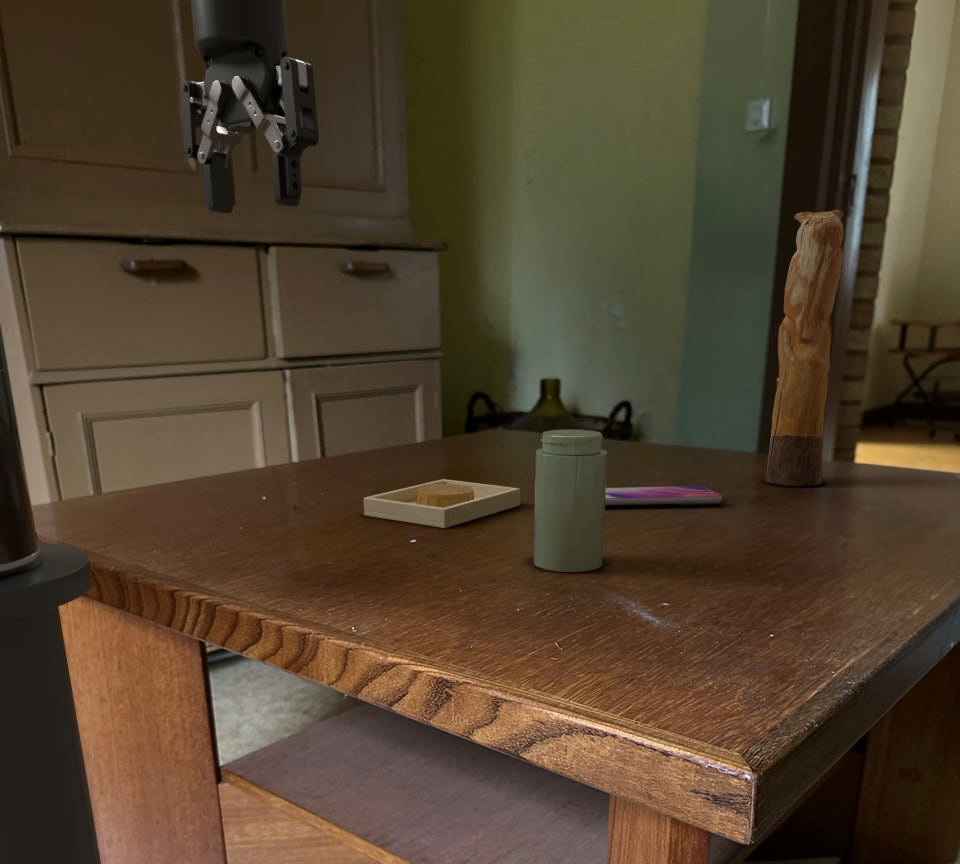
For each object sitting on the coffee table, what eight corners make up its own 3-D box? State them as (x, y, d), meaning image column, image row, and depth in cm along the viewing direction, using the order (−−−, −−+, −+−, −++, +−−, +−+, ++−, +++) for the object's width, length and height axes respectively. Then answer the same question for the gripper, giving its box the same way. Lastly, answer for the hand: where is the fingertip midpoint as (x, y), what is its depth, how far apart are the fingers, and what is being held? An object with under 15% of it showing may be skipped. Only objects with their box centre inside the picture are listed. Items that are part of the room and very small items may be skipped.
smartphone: (570, 488, 101) (702, 485, 102) (570, 496, 101) (702, 493, 102) (582, 499, 94) (724, 496, 95) (582, 507, 94) (724, 504, 95)
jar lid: (406, 508, 92) (406, 492, 92) (432, 498, 97) (431, 482, 97) (459, 513, 90) (459, 496, 89) (482, 502, 95) (482, 486, 95)
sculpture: (813, 474, 114) (845, 211, 104) (828, 488, 105) (864, 201, 95) (759, 473, 115) (785, 212, 105) (768, 486, 106) (798, 203, 96)
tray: (444, 528, 86) (444, 509, 85) (364, 515, 92) (363, 497, 91) (520, 505, 96) (520, 488, 96) (443, 495, 102) (443, 479, 101)
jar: (581, 576, 70) (586, 439, 67) (520, 565, 73) (522, 434, 70) (614, 560, 75) (621, 431, 71) (555, 551, 78) (559, 427, 74)
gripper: (334, -15, 73) (343, 208, 78) (217, 17, 81) (232, 218, 86) (262, -44, 67) (277, 199, 72) (144, -7, 75) (165, 210, 80)
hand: (253, 209), depth 79 cm, fingers open, 8 cm apart
